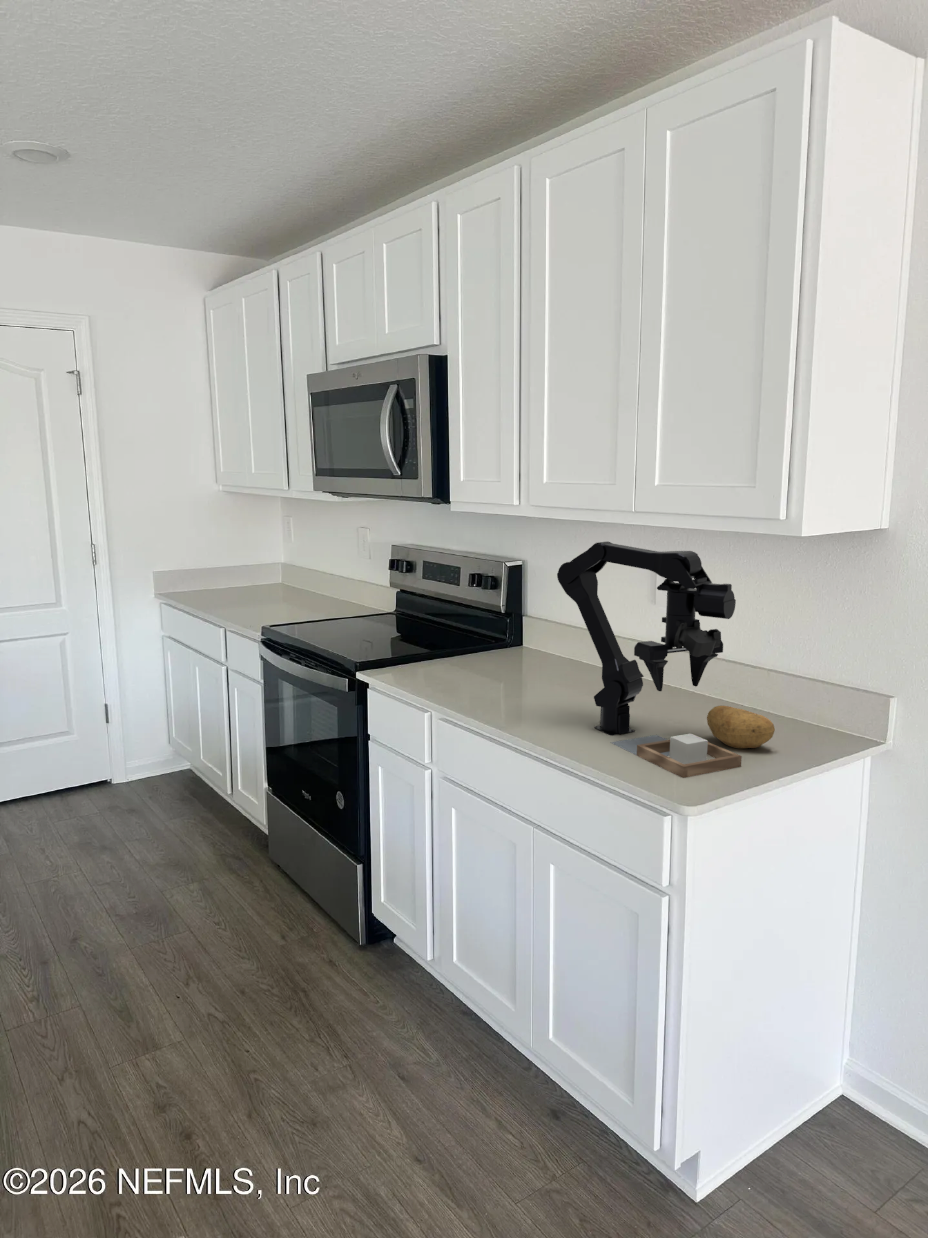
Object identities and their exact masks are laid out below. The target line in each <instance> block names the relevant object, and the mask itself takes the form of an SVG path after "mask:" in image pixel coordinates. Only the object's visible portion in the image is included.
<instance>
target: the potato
mask: <svg viewBox="0 0 928 1238" xmlns="http://www.w3.org/2000/svg"><path fill="white" fill-rule="evenodd" d="M706 722H707V723H706V724H707V726H708V727H709V730H710V731H711V734H712V735H713V736H714V737H715V738H716V739H718V741H720V742H722V743H723V744H724V745H725V746H729V747H731V748H734V749H748V748H749V749H750V748H751V749H756V748H761V746H763V745H764V744H765V743H767V742H769V741H770V740H771V739H772V738H773V737H774V734H775V732H776V729H775V725H774V723H773V722H772V721H771V720H770V719H769V718H767V717H766V716H764V715H762V714H758V713H755V712H752V711H749V710H746V709H743V708H738V707H732V706H729V705H716V706H714V707H712V708H711V709H710V710H709V711H708V713H707V715H706Z"/></svg>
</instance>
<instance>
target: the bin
mask: <svg viewBox="0 0 928 1238" xmlns="http://www.w3.org/2000/svg"><path fill="white" fill-rule="evenodd" d="M669 751H670V739H668V740H664V741H658V742H652V743H646V744H640V745H637V755H636V756H637V757H638V758H641V759H643V758H644V759H643V760H645V761H647V762H650V763H652V764H654V765H656V766H657V767H660V768H661V769H664V770H666V771H668V772H670V773H672V774H674V775H676V776H678V777H680V778H682V779H686V778H690V777H695V776H699V775H705V774H706V775H707V774H710V773H715V772H719V771H721V772H722V771H726V770H731V769H736V768H741V767H742V758H743V757H742V755H741V754H738V753H735V752H733V751H731V750H728V749H726V748H724V747H721V746H718V745H716V744H714V743H711V742H709V741H708V746H707V756H709V757H712V759H707V760H705V761H700V762H694V763H689V764H682V763H680V762H678V761H676V760H674V759H672V758H669V756H665V755H663V754H661V753H664V752H669Z"/></svg>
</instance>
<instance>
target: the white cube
mask: <svg viewBox="0 0 928 1238" xmlns="http://www.w3.org/2000/svg"><path fill="white" fill-rule="evenodd" d="M669 740H670V755H669V756H668V757H669V758H672V759H674V760H676V761H678V762H680V763H682V764H689V763H694V762H700V761H705V760H708V755H707V746H708V742H709V741H708V740H707V739H705V738H704V737H703V738H702V737H700V736H698V735H696V734H693V733H687V734H686V733H685V734H680V735H679V734H678V735H674V736H670V738H669Z"/></svg>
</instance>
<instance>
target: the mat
mask: <svg viewBox="0 0 928 1238" xmlns="http://www.w3.org/2000/svg"><path fill="white" fill-rule="evenodd" d="M664 740H669V739H667V738H665V737H663V736H660V735H659V734H653V735H647V736H642V737H641V736H640V737H634V738H628V739H623V740H616V741H610V744H613V745H614V746H616V747H618V748H620V749H623V750H625V751H626V752H628V753H631V754H633V755H635V756H637V745H640V744H646V743H652V742H658V741H664ZM661 754H663V755H665V756H667V757H669V755H670V751H669V752H664V753H661ZM642 759H643V760H645V759H644V758H642Z"/></svg>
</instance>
